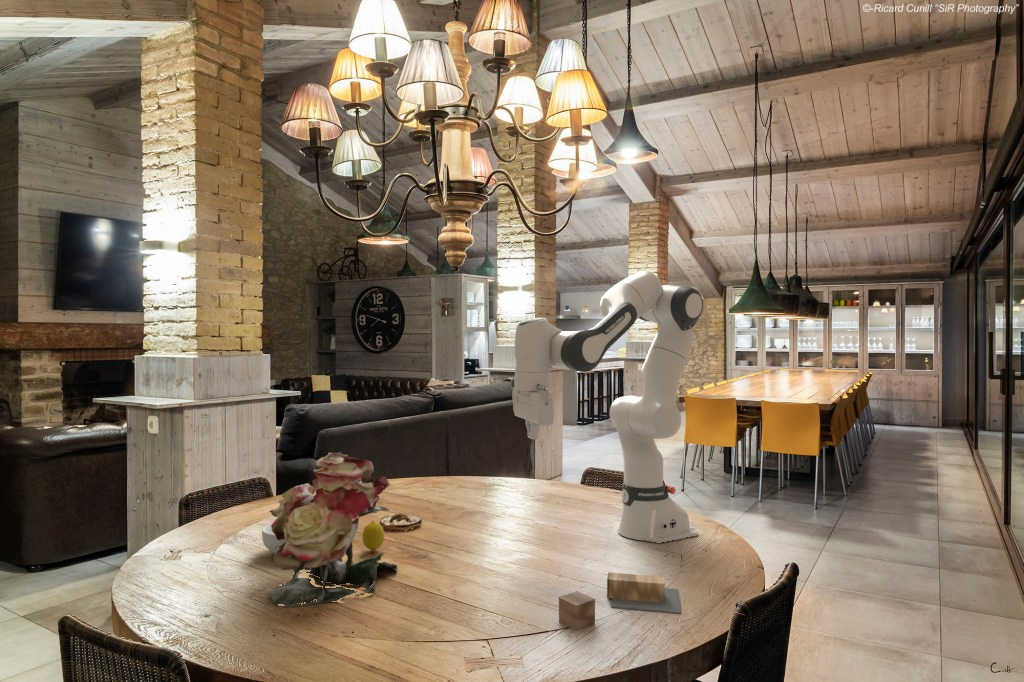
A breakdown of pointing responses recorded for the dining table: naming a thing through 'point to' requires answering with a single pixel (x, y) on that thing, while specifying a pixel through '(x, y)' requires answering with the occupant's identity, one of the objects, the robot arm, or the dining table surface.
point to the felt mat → (652, 603)
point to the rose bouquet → (327, 531)
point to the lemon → (373, 535)
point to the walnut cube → (576, 611)
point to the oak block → (636, 587)
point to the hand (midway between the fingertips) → (532, 438)
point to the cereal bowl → (271, 539)
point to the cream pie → (400, 522)
